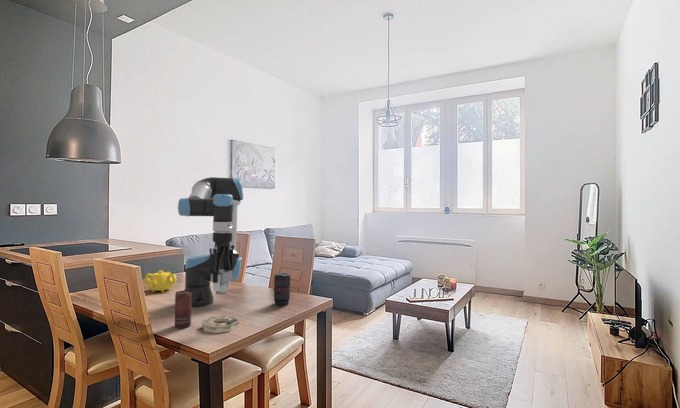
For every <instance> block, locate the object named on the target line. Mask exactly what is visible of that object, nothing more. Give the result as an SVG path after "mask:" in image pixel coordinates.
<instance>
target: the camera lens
mask: <svg viewBox="0 0 680 408" xmlns="http://www.w3.org/2000/svg"><path fill="white" fill-rule="evenodd" d="M273 278H274V279H273V285H274V286H273V301H274V305H275V306H278V307H280V306H281V307H284V306H288V305H289V301H290V299H291V298H290V297H291V295H290V294H291V279H292V278H291V274H290V273H287V272H278V273H275V274H274V276H273Z"/></svg>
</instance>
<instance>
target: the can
mask: <svg viewBox="0 0 680 408" xmlns="http://www.w3.org/2000/svg"><path fill="white" fill-rule="evenodd" d="M174 297H175V298H174V327H175V328H176V329H186V328H189V327H190V326H191V325H192V307H191V297H192V294H191V291H184V290H179V291H176V292H175V296H174Z"/></svg>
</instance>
